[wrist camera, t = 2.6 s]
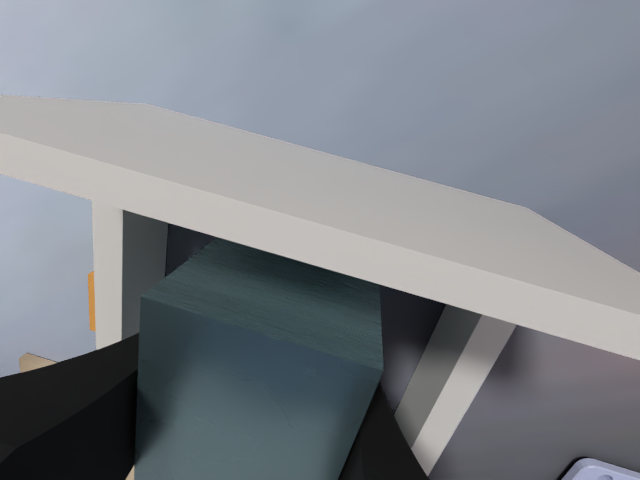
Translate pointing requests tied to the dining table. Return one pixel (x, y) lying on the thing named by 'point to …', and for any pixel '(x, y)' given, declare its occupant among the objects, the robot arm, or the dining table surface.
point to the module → (253, 368)
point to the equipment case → (423, 389)
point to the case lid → (326, 213)
